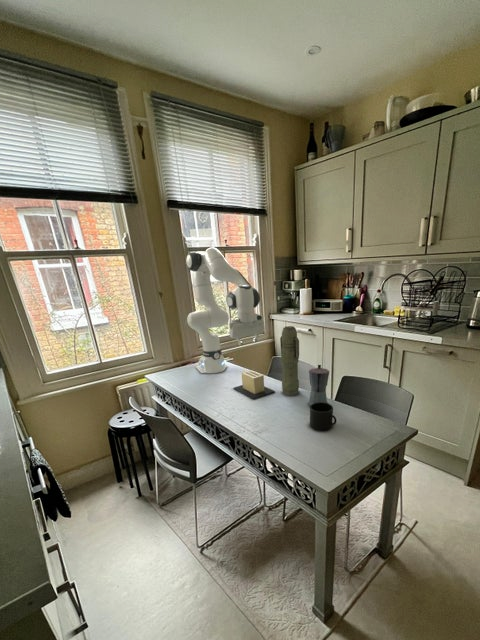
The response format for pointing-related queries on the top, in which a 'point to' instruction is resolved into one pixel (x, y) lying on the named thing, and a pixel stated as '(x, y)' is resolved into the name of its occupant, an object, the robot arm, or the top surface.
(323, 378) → the moka pot
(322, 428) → the mug
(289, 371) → the thermos
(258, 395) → the mat
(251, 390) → the toaster
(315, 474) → the top surface
